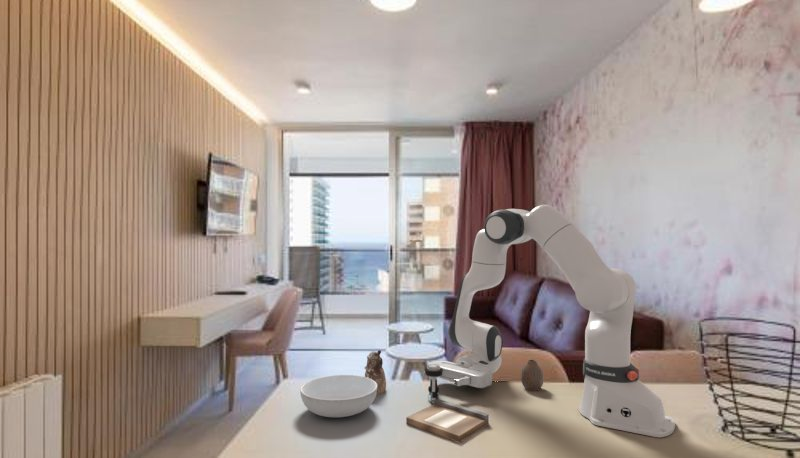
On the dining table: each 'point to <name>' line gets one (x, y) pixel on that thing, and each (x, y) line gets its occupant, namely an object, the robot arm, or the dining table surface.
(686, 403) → the dining table surface
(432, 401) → the push button
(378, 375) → the figurine
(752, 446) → the dining table surface
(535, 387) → the vase
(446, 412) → the brown board with label
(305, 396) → the serving bowl
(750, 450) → the dining table surface
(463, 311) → the robot arm
